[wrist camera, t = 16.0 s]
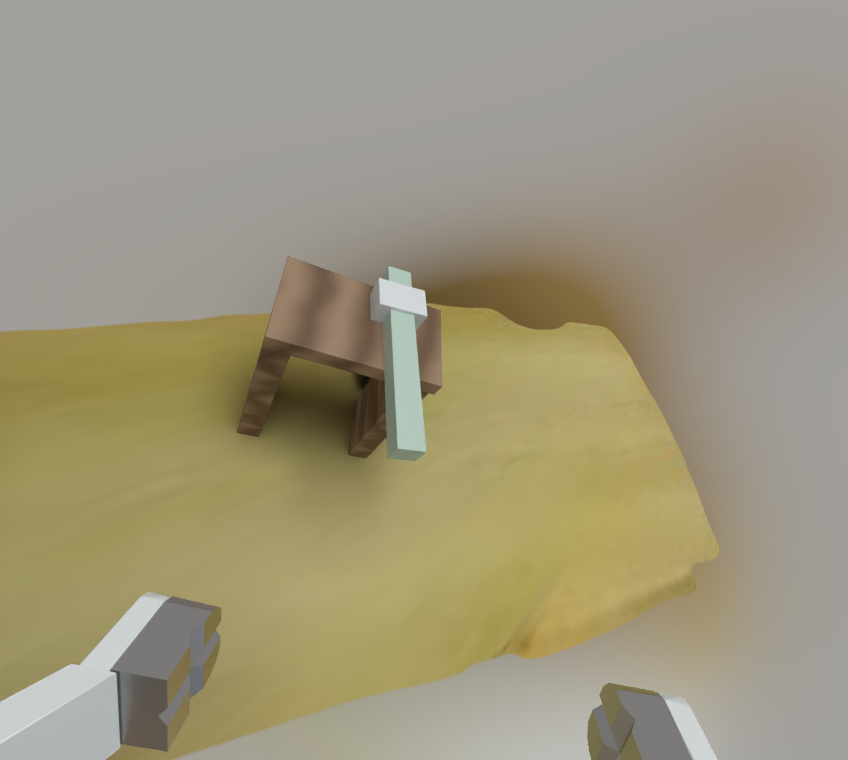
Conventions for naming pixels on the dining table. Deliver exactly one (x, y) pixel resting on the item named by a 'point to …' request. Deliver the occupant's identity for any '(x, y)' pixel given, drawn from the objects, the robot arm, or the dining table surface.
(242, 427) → the shelf
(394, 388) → the pale green bar
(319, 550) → the dining table surface
